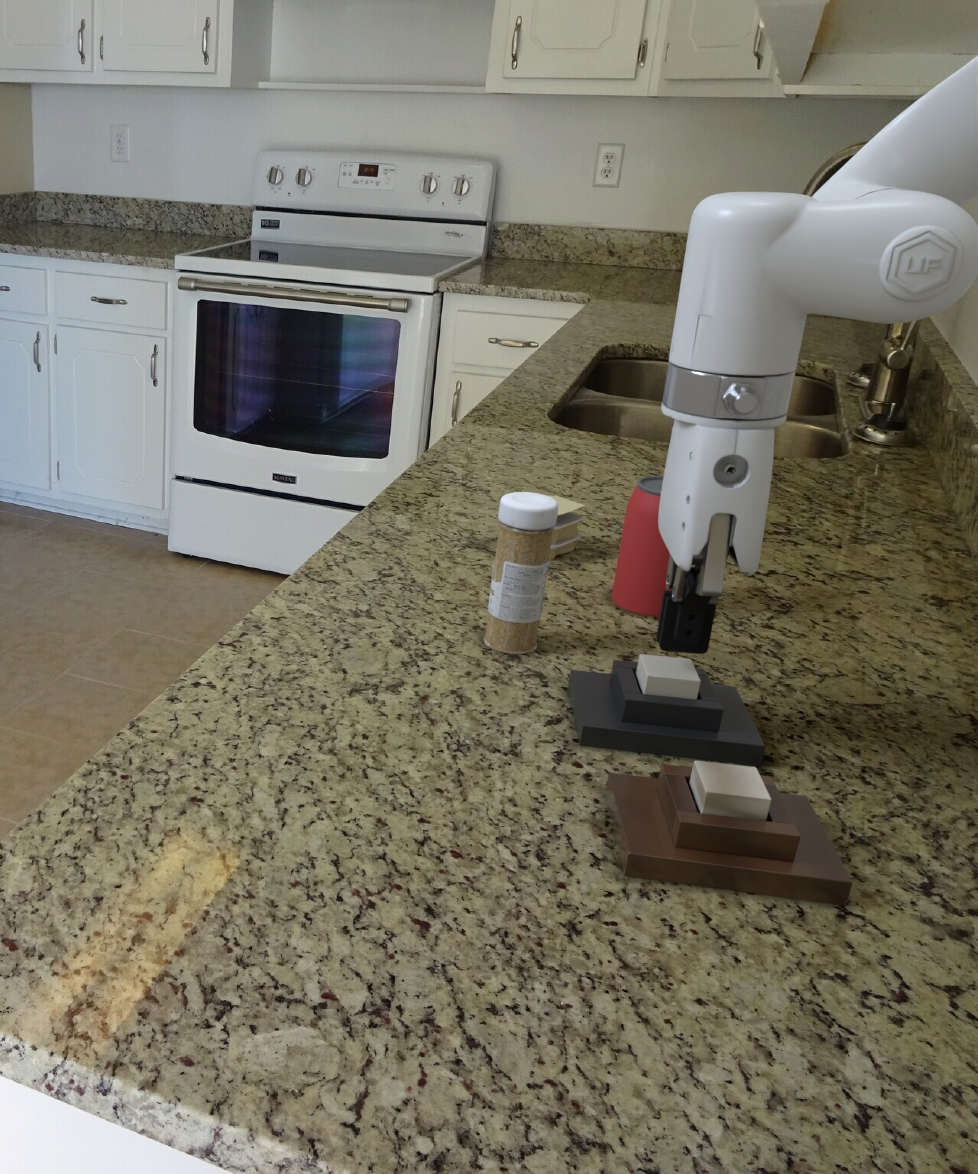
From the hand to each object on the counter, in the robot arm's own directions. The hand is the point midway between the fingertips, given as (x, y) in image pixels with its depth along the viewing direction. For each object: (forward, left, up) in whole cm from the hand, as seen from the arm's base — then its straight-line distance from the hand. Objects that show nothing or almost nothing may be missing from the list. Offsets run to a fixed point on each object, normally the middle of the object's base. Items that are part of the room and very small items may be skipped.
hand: (681, 647), depth 79 cm
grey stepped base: (0, 0, -7) cm, 7 cm away
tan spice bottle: (+11, -12, -7) cm, 17 cm away
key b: (+1, 0, -3) cm, 3 cm away
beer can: (-3, -24, -7) cm, 25 cm away
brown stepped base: (-1, +15, -7) cm, 17 cm away
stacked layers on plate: (+6, -36, -7) cm, 37 cm away
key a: (-1, +15, -3) cm, 15 cm away
